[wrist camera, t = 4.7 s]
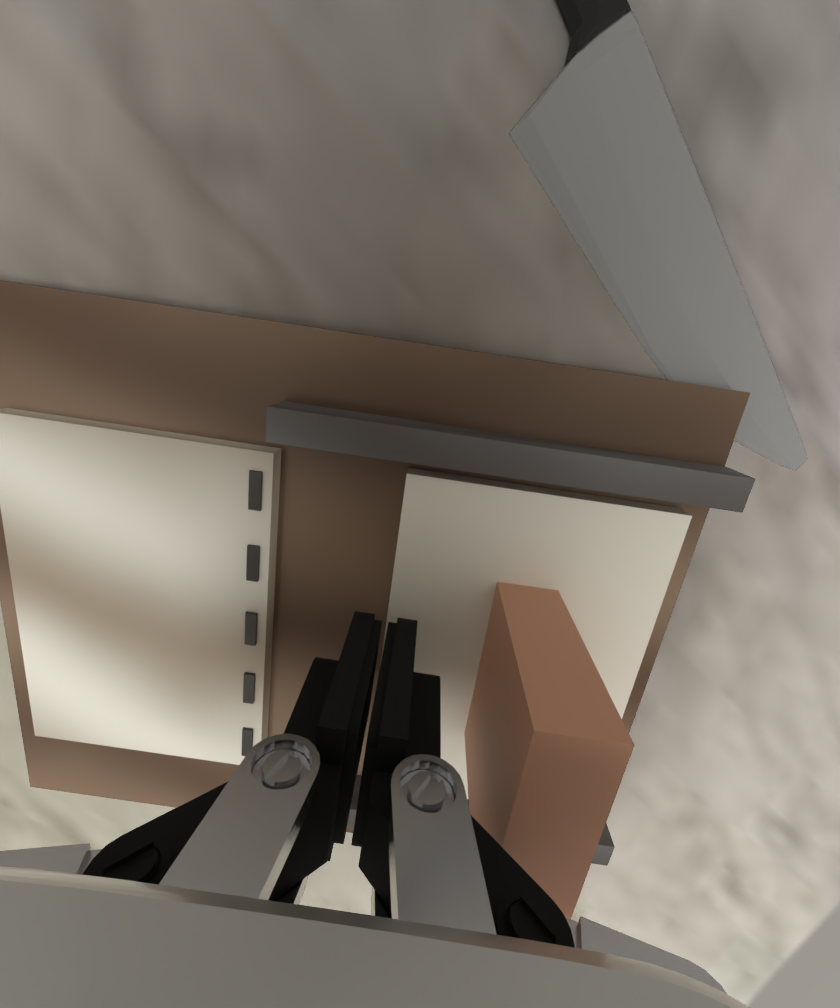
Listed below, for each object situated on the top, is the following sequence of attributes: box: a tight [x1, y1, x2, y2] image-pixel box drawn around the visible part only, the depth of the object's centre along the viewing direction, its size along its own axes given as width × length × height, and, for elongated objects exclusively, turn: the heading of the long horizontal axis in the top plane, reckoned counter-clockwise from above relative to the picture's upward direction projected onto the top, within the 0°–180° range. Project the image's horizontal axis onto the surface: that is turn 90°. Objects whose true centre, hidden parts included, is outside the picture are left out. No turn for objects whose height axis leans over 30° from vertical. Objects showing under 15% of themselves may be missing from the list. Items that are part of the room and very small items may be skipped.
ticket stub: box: [380, 468, 692, 919], centre depth 11 cm, size 10×7×6 cm
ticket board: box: [0, 280, 755, 865], centre depth 13 cm, size 16×19×2 cm
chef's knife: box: [509, 0, 808, 470], centre depth 10 cm, size 19×1×3 cm
